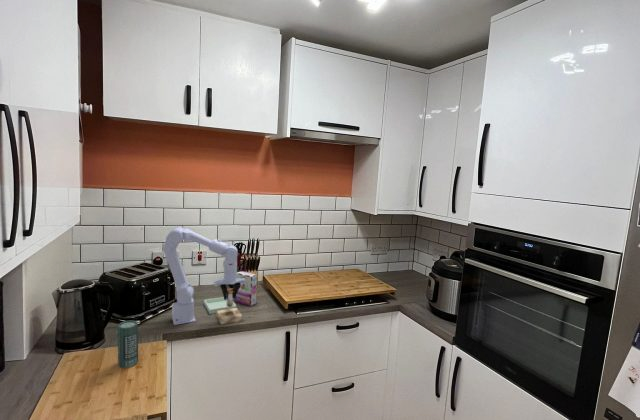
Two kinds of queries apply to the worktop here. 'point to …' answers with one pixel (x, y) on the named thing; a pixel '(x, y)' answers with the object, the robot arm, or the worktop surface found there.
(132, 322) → the can
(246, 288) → the candy bar box
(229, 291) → the metal pin
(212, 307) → the tray
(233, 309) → the pin holder block
